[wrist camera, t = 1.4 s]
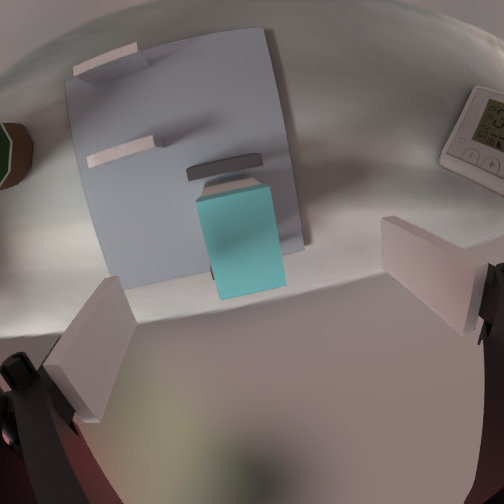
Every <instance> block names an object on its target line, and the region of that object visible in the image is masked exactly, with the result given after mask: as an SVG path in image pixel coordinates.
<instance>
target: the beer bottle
mask: <svg viewBox="0 0 504 504" xmlns="http://www.w3.org/2000/svg"><path fill="white" fill-rule="evenodd" d="M32 151H33V141H32V139H31V137H30V136H29V134H28V133H27V131H26V129H25V127H24V126H23V125H22V124H16V123H0V190H3V189H6V188H9V187H12V186H15V185H17V184H18V183H19V182H20V180H21V179H22V178H23V176H24V175H25V174H26V172H27V171H28V170H29V168H30V167H31V163H32Z"/></svg>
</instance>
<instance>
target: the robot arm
mask: <svg viewBox="0 0 504 504" xmlns="http://www.w3.org/2000/svg"><path fill="white" fill-rule="evenodd" d="M381 226H382V262H383V269H384V270H385V271H387V272H388V273H389V274H390V275H391V276H393V277H394V278H395V279H396V280H398V281H399V282H400V283H401V284H403V285H404V286H405V287H406V288H407V289H408V290H410V291H411V292H412V293H413V294H414V295H416V296H417V297H418V298H419V299H420V300H422V301H423V302H424V303H425V304H426V305H427V306H429V307H430V308H431V309H432V310H433V311H434V312H435V313H436V314H438V315H439V316H440V317H441V318H442V319H443V320H444V321H446V322H447V323H448V324H449V325H450V326H451V327H452V328H453V329H454V330H455V331H457V332H458V333H459V334H460V335H461V336H463V335H466V334H467V333H469V332H471V331H473V330H475V327H476V324H477V319H478V316H480V317H481V318H482V319H484V322H483V326H482V329H481V333H480V336H479V340H478V345H480V342H481V340H483V346H484V366H485V367H484V370H485V392H484V393H485V395H484V417H483V428H482V437H481V445H480V453H479V459H478V465H477V471H476V476H475V480H474V484H473V486H472V489H471V491H470V492H469V494H468V496H467V497H466V499H465V501H464V504H504V263H500V264H497V265H496V266H493V265H491V264H489V263H488V262H486V261H484V260H482V259H480V258H478V257H477V256H475V255H473V254H471V253H469V252H468V251H466V250H464V249H462V248H460V247H458V246H456V245H454V244H452V243H450V242H448V241H446V240H444V239H442V238H440V237H438V236H436V235H434V234H432V233H430V232H428V231H426V230H424V229H422V228H419V227H417V226H415V225H413V224H411V223H409V222H406V221H404V220H402V219H400V218H398V217H395V216H389V217H384V218H381ZM136 324H137V322H136V320H135V318H134V315H133V313H132V311H131V308H130V306H129V303H128V301H127V298H126V296H125V293H124V291H123V288H122V286H121V283H120V280H119V278H118V276H113V277H109V278H105V279H104V280H103V281H102V282H101V284H100V285H99V286H98V287H97V289H96V290H95V291H94V293H93V294H92V295H91V297H90V298H89V299H88V301H87V302H86V303H85V305H84V306H83V307H82V309H81V310H80V311H79V313H78V314H77V315H76V317H75V318H74V320H73V321H72V322H71V324H70V325H69V327H68V328H67V329H66V331H65V332H64V334H63V335H62V336H61V337H60V338H59V339H58V340H57V342H56V343H55V344H54V346H53V348H52V349H51V350H50V352H49V354H48V355H47V356H46V358H45V360H44V361H43V363H42V364H41V366H40V367H39V369H38V370H37V371H36V369H35V368H34V366H33V364H32V363H31V361H30V359H29V358H28V356H27V355H26V353H24V352H18V353H15V354H13V355H11V356H10V357H8V358H7V359H6V360H5V361H4V362H3V363H2V365H1V366H0V374H1V375H2V376H3V378H4V379H5V381H6V382H7V384H8V385H9V387H10V388H11V389H12V390H11V391H7V392H4V391H3V390H2V388H1V387H0V504H124V503H123V502H122V501H121V499H120V498H119V497H118V495H117V493H116V492H115V491H114V489H113V487H112V486H111V484H110V483H109V481H108V480H107V478H106V476H105V475H104V473H103V471H102V470H101V468H100V466H99V465H98V463H97V461H96V460H95V458H94V456H93V454H92V452H91V451H90V449H89V447H88V445H87V443H86V441H85V439H84V437H83V435H82V433H81V431H80V429H79V427H78V425H77V424H76V423H75V422H74V421H73V416H74V413H75V412H76V413H77V414H78V415H79V417H80V418H81V419H82V420H83V422H92V423H101V420H102V417H103V414H104V411H105V407H106V405H107V401H108V398H109V396H110V393H111V390H112V387H113V384H114V381H115V379H116V376H117V373H118V370H119V368H120V364H121V362H122V360H123V357H124V354H125V352H126V349H127V346H128V344H129V341H130V339H131V336H132V334H133V332H134V329H135V326H136ZM2 432H3V433H4V434H5V435H6V437H7V438H8V439H9V440H10V442H9V445H8V444H7V443H6V442H5V441H4V439H3V436H2Z"/></svg>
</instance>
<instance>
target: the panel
mask: <svg viewBox="0 0 504 504" xmlns="http://www.w3.org/2000/svg"><path fill="white" fill-rule="evenodd" d="M143 51H144V53H145V54H146V55H147V57H148V58H149V62H150V67H149V68H145V69H142V70H139V71H136V72H133V73H130V74H127V75H124V76H121V77H118V78H116V79H113V80H110V81H108V82H105V83H102V84H100V85H97V86H93V85H91V84H89V83H86V82H84V81H82V80H80V79H78V78H76V77H72V78H70V79H68V80H66V81H65V91H66V100H67V107H68V115H69V121H70V127H71V133H72V139H73V144H74V149H75V154H76V159H77V164H78V168H79V173H80V177H81V181H82V185H83V189H84V193H85V197H86V201H87V204H88V208H89V212H90V215H91V218H92V222H93V225H94V228H95V232H96V235H97V238H98V241H99V244H100V247H101V250H102V253H103V256H104V259H105V262H106V264H107V267H108V270H109V273H110V275H111V277H113V276H118V278H119V280H120V283H121V286H122V288H123V290H126V289H131V288H135V287H140V286H145V285H149V284H154V283H159V282H163V281H168V280H173V279H177V278H182V277H187V276H191V275H196V274H200V273H205V272H209V271H211V270H210V260H209V256H208V252H207V248H206V244H205V240H204V236H203V232H202V228H201V224H200V220H199V216H198V212H197V208H196V204H195V202H196V200H197V198H199V197H200V196H201V193H202V190H203V187H204V185H205V182H208V181H213V180H217V179H222V178H226V177H231V176H236V175H241V174H246V173H247V174H248V175H250V176H251V177H253V178H254V179H255V180H257V181H258V182H260V183H261V184H264V183H265V184H266V185H268V186H269V187H270V191H271V196H272V202H273V207H274V213H275V219H276V225H277V230H278V236H279V242H280V248H281V254H282V255H286V254H290V253H294V252H299V251H303V250H305V248H304V241H303V233H302V226H301V219H300V213H299V206H298V199H297V193H296V187H295V181H294V175H293V169H292V163H291V157H290V152H289V146H288V141H287V135H286V130H285V125H284V120H283V114H282V109H281V105H280V100H279V95H278V90H277V85H276V81H275V76H274V72H273V67H272V63H271V59H270V54H269V50H268V46H267V42H266V38H265V34H264V30H263V27H254V28H245V29H237V30H230V31H223V32H217V33H211V34H206V35H201V36H196V37H191V38H187V39H182V40H178V41H174V42H170V43H166V44H162V45H159V46H155V47H152V48H148V49H145V50H143ZM150 135H155V136H159V137H163V138H164V143H165V147H166V148H162V149H159V150H155V151H152V152H148V153H145V154H141V155H138V156H135V157H131V158H128V159H125V160H122V161H119V162H116V163H113V164H110V165H105V166H99V167H93V168H89V167H88V163H87V158H86V157H88V156H90V155H93V154H96V153H98V152H101V151H104V150H107V149H110V148H112V147H115V146H118V145H121V144H124V143H127V142H130V141H134V140H137V139H140V138H143V137H147V136H150ZM251 153H261V155H262V160H263V166H259V167H254V168H248V169H243V170H239V171H234V172H229V173H224V174H220V175H215V176H211V177H206V178H202V179H198V180H194V181H189V182H188V178H187V173H186V169H187V168H189V167H191V166H195V165H199V164H204V163H208V162H212V161H217V160H222V159H226V158H231V157H236V156H241V155H246V154H251Z"/></svg>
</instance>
